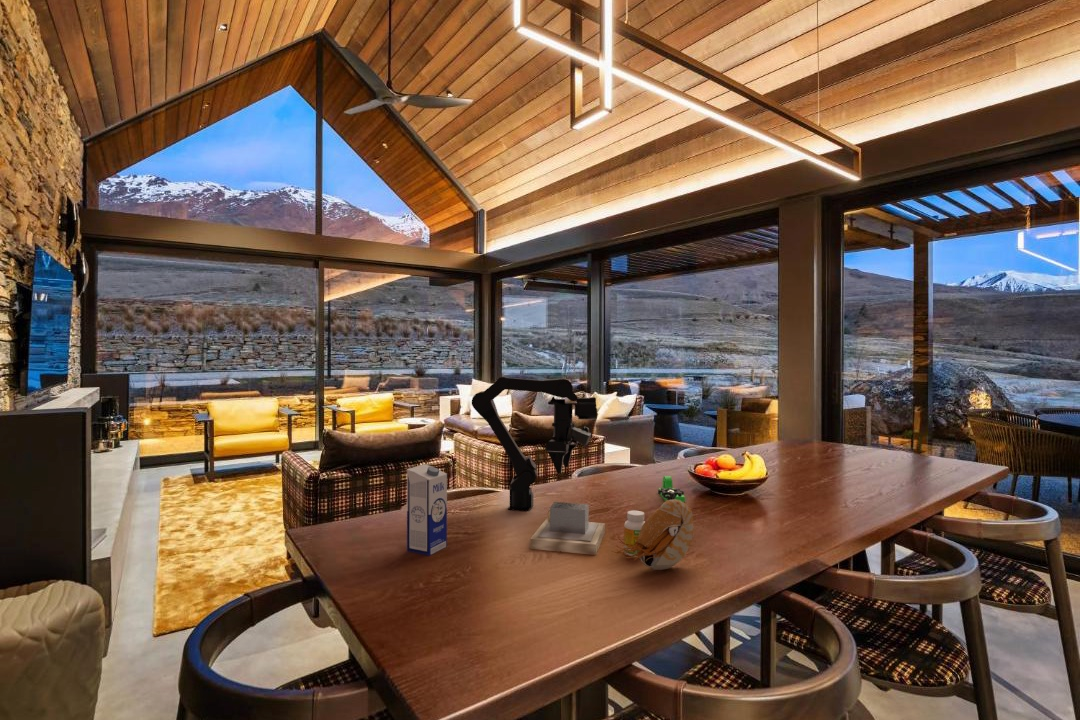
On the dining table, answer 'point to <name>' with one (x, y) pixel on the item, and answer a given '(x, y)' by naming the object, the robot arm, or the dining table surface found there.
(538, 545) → the stand
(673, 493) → the valve
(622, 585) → the dining table surface
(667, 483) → the mechanical part
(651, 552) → the nautilus
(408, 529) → the milk carton
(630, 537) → the supplement bottle
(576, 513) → the block
